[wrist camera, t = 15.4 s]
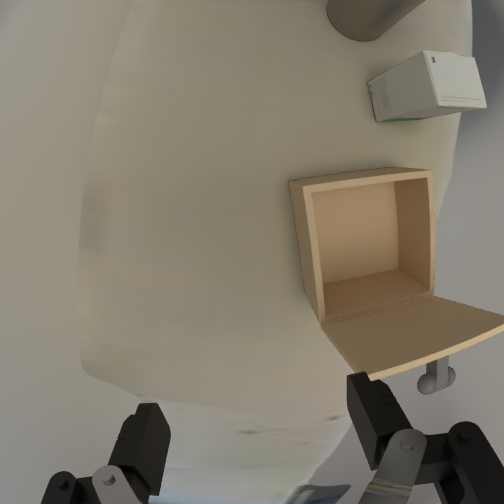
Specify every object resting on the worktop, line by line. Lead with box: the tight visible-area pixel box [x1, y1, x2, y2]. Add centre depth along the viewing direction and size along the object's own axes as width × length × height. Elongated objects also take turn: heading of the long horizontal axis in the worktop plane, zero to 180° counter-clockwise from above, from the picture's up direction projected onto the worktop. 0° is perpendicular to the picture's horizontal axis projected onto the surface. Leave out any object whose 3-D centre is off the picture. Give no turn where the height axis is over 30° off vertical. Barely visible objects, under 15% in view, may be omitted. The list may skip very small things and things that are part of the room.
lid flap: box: [321, 296, 504, 395], centre depth 28 cm, size 16×16×5 cm
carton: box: [288, 167, 436, 324], centre depth 38 cm, size 16×16×10 cm
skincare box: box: [368, 50, 487, 122], centre depth 30 cm, size 8×7×16 cm
